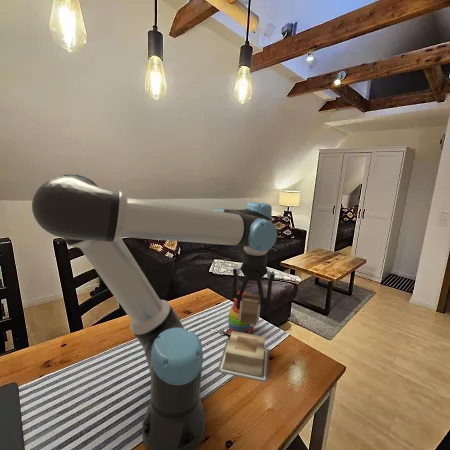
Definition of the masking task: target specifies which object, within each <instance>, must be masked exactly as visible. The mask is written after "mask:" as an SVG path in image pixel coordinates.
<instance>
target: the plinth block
mask: <svg viewBox="0 0 450 450" xmlns="http://www.w3.org/2000/svg"><path fill="white" fill-rule="evenodd" d="M228 341H229V343H228V346H227V349H226V354H225V366H224V369H229V370H234V371H238V372H243V373H248V374H252V375H257V376H262V367H263V358H264V348H265V343H266V336H262V335H257V334H251V333H250V334H247V333H242V332H236V331H232V333H231V336H230V335H229V339H228Z"/></svg>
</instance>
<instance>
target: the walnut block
mask: <svg viewBox="0 0 450 450" xmlns="http://www.w3.org/2000/svg"><path fill="white" fill-rule="evenodd" d="M259 301H260V297H259V294H252V293H251V294H250V293H248V294H247V292H246V293H245V294H244V297H243V300H242V312H241V323H245V324H251V326H257V323H256V321H257V311H258V302H259Z"/></svg>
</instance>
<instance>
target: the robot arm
mask: <svg viewBox="0 0 450 450" xmlns="http://www.w3.org/2000/svg"><path fill="white" fill-rule="evenodd" d="M31 209H32V214H33V217H34V219H35V221H36V223H37V224H38V225H39V226H40V227H41V228H42V229H43V230H44V231H46V232H47V233H49V234H51V235H52V236H55V237H58V238H62V239H63V240H64V242H65V243H66V244H67V246H68V247H73V248H78V249H80V251H82V253H83V255H84V256H85V258H86V259H87V260H88V261H89V263H90V264H91V266H92V267H93V269H94V270H95V271H96V273H97V274H98V276H100V278H101V280H102V281H103V282H104V284H105V286H106V287H107V288H108V289H109V291H110V292H111V294H112V295H113V296H114V298H115V299H116V300H117V302H118V303H119V305H120V306H121V307H122V309H123V310H124V312H125V313H126V314H127V316H128V318H129V319H131V322H130V326H129V329H130V331H131V332H132V334H133V335H134V337H135V338H136V339H137V341H138V342H139V343H140V345H141V346H142V348H143V350H144V351H143V352H144V355H145V358H146V362H147V366H148V370H149V374H150V402H149V404H148V406H147V409H146V411H145V414H144V415H143V416H144V417H143V419H142V420H143V421H142V428H141V429H142V433H141V434H142V440H143V443H144V445H145V448H146V449H147V450H196V448H197V447H199V445H200V443H201V441H202V439H203V438H204V436H205V431H206V412H205V409H204V407H203V403H202V400H201V387H202V384H201V383H202V370H203V362H204V354H203V353H204V351H203V345H202V342H201V340H200V337H199V336H198V335H197V334H196V333H195V332H194V331H191V330H189V331H188V329H187V328H185V327H184V325H183V323H182V321H181V319H180V316H179V314H178V313H177V312H176V311H175V310H174V308H173V307H172V305H171V304H170V302H169V301H168V300H164V299H160V297H159V296H158V294H157V293H156V291H155V289H154V288H153V286H152V284H151V283H150V282H149V280H148V278H147V277H146V275H145V273H144V272H143V270H142V269H141V267H140V265H139V264H138V263H137V260H136V259H135V258H134V256H133V255H132V253H131V251H130V250H129V248H128V247H127V245H126V244H125V242H124V240H123V239H122V238H133V239H147V240H159V241H169V242H170V241H171V242H184V243H185V242H187V243H197V244H198V243H199V244H209V245H210V244H211V245H221V246H222V245H224V246H236V247H243V250H244V251H243V253H242V254H243V255H242V264H241V265H240V266H239V267H237V266H234V267H233V268H232V274H233V283H232V291H231V292H232V293H231V297H232V299H234V298H236V299H237V309H240V313H239V320H241V312H242V300H243V298H242V295H243V293H244V292H245V289H246V287H247V284H248V282H249V281H253V282H256V284H257V288H258V289H257V290H258V295H259V302H258V311H257V321H256V324H259V323H260V314H263V313H264V309H265V304H270V303H271V297H272V288H273V287H272V286H273V281H274V280H275V275H276V274H275V271H270V270H268V268H267V261H268V252H269V250H271V248H272V247H273V246H274V245H275V243H276V241H277V236H278V231H277V228H276V225H275V224H274V223H273V222H272V220H273V218H272V215H273V214H272V213H273V211H272V210H273V208H272V205H271V204H269V203H267V202H266V203H265V202H258V201H256V202H254V201H252V202H248V203H247V206H246V208H245V209H231V208H230V209H229V208H228V209H227V208H221V209H213V210H210V209H205V208H198V207H191V206H186V205H185V206H184V205H183V206H182V205H178V204H170V203H165V202H164V203H163V202H156V201H151V200H146V199H145V200H144V199H138V198H130V197H126V196H125V194H124V193H123V192H122V191H120V190H115V189H108V188H104V187H100V186H99V185H97V183H95V182H94V180H91V179H90V178H89V177H86V176H84V175H81V174H76V173H75V174H73V173H72V174H71V173H70V174H64V175H60V176H57V177H54V178H51V179H49V180H47V181H45V182H44V183H43V184H41V185H40V186H39V187H38V189H36V191H35V193H34V196H33V197H32V201H31ZM240 273H242V275H243V276H244V280H243V282H242V284H241V287H240V290H239V291H238V284H239V275H240ZM265 276H266V278H267V280H268V282H267V292H266V297H265V292H264V287H263V282H262V281H263V278H264V277H265ZM238 292H239V294H238Z"/></svg>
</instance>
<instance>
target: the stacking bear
mask: <svg viewBox="0 0 450 450" xmlns="http://www.w3.org/2000/svg"><path fill="white" fill-rule="evenodd" d="M239 292H240V291H237V293H238V294H239ZM245 293H247V291H244V293H243V295H242V298H243V297H244V294H245ZM247 294H249V293H247ZM239 313H240V309H237V299H236V298H233V305H232V306H231V308H230V310H229V313H228V318H227V320H228V326H229V327H228V329H227V333H228V332H229V333H230V334H231V333H232V331H236V332H242V333H247V334H251V333H253V331H254V328H253V325H251V324H245V323H241V320H239Z"/></svg>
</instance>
